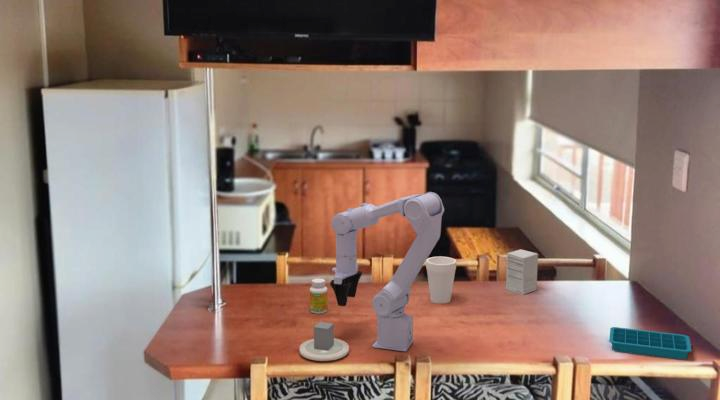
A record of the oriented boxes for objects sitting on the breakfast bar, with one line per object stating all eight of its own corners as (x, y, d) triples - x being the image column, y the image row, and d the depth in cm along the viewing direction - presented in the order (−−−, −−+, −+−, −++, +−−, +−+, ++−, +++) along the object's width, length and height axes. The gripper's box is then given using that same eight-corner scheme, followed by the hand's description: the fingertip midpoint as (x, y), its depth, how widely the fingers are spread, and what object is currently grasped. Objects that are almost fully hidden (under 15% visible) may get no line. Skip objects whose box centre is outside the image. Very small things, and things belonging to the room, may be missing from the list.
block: (333, 344, 205) (333, 323, 203) (328, 350, 201) (328, 328, 200) (319, 342, 206) (319, 321, 205) (314, 348, 202) (313, 327, 201)
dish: (355, 346, 208) (355, 340, 207) (338, 365, 196) (338, 359, 195) (310, 340, 212) (310, 334, 211) (291, 359, 200) (291, 353, 199)
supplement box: (519, 285, 258) (520, 248, 256) (537, 290, 253) (538, 253, 250) (504, 289, 254) (506, 252, 251) (522, 295, 248) (524, 257, 246)
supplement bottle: (312, 314, 231) (311, 283, 229) (308, 308, 236) (307, 278, 234) (329, 313, 233) (329, 282, 231) (325, 307, 238) (325, 277, 236)
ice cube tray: (609, 336, 215) (610, 326, 214) (688, 345, 208) (688, 335, 208) (608, 352, 204) (609, 342, 204) (690, 362, 198) (691, 352, 197)
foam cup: (425, 295, 249) (425, 256, 246) (453, 295, 248) (454, 256, 245) (426, 305, 239) (427, 265, 237) (456, 305, 239) (457, 265, 236)
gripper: (341, 246, 220) (341, 291, 223) (323, 260, 207) (323, 308, 210) (365, 248, 218) (365, 294, 221) (348, 262, 205) (348, 310, 208)
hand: (346, 301), depth 215 cm, fingers open, 7 cm apart
